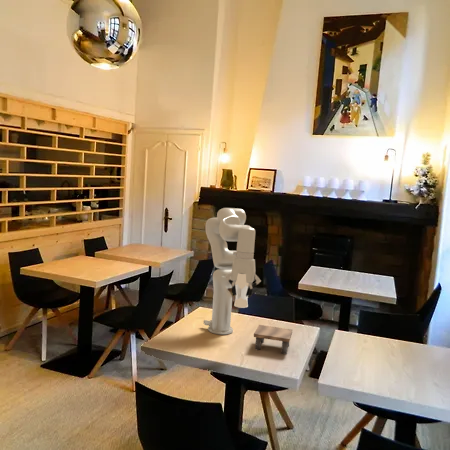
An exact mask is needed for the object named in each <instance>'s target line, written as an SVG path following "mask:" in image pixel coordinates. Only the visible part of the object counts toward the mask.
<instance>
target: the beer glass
mask: <svg viewBox="0 0 450 450" xmlns="http://www.w3.org/2000/svg"><path fill="white" fill-rule="evenodd" d="M248 290H249V283H247V282H246V274H240V273H238V276H237V281H235V300H234V304H233V306H234V307H236V308H239V309H245V308H248V307H249V304H248Z"/></svg>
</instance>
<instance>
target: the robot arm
mask: <svg viewBox="0 0 450 450" xmlns="http://www.w3.org/2000/svg"><path fill="white" fill-rule="evenodd" d="M216 214H217V215H216V217H211V218H208V219H207V220H206V223H205V234H206V237H207V240H208V242H209V245H210V248H211V255H212V261H213V266H214V268H216V269H215V270H214V272H213V274H212V285H213V296H212V311H211V320H209V319H208V320H207V319H204V320H203V324H204V325H205V326H208V327H207V331H208V332H210V333H211V334H214V335H220V336H221V335H231V334H232V333H234V329H233V327H232V326H231V323H232V321H231V320H232V309H233V308H232V306H233V296H236V294H235V281H237V276H238V273H240V274H246V282H247V283H249V290H248V298H249V299H250V298H251V297H252V296H253V291H254V288H255V287H256V286H257V285H259V284H260V283H261V282H262V280H261V279H260V277H259V276H258V275H257V274H256V259H254V255H255V254H254V253H255V242H256V241H255V240H256V229H255V228H253V227H252V226H250V225H248V224H245V223H246V220H247V215H246V212H245V210H244V209H242V208H238V207H237V208H235V207H223V208H221V209H219V210H218V211H217V213H216ZM227 242H237V243H236V250H229V249H228V243H227ZM254 281H255V282H254ZM253 282H254V283H253ZM229 289H231V292H230V291H229Z"/></svg>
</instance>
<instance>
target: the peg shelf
mask: <svg viewBox="0 0 450 450" xmlns="http://www.w3.org/2000/svg"><path fill="white" fill-rule="evenodd" d="M292 334H293V328H292V329H291V328H285V327H284V328H283V327H279V326H278V327H276V326H271V325H270V326H269V325H265V324H258V326H257V328H256V329H255V331H254V333H253V338H255V344H254V345H255V348H254V349H255V350H256V351H261V347H262V346H261V345H262V344H263V343H265V340H271V341H272V340H273V341H279V342H281V354H282V355H287V354H288V347H290V341H291V338H292Z"/></svg>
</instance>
